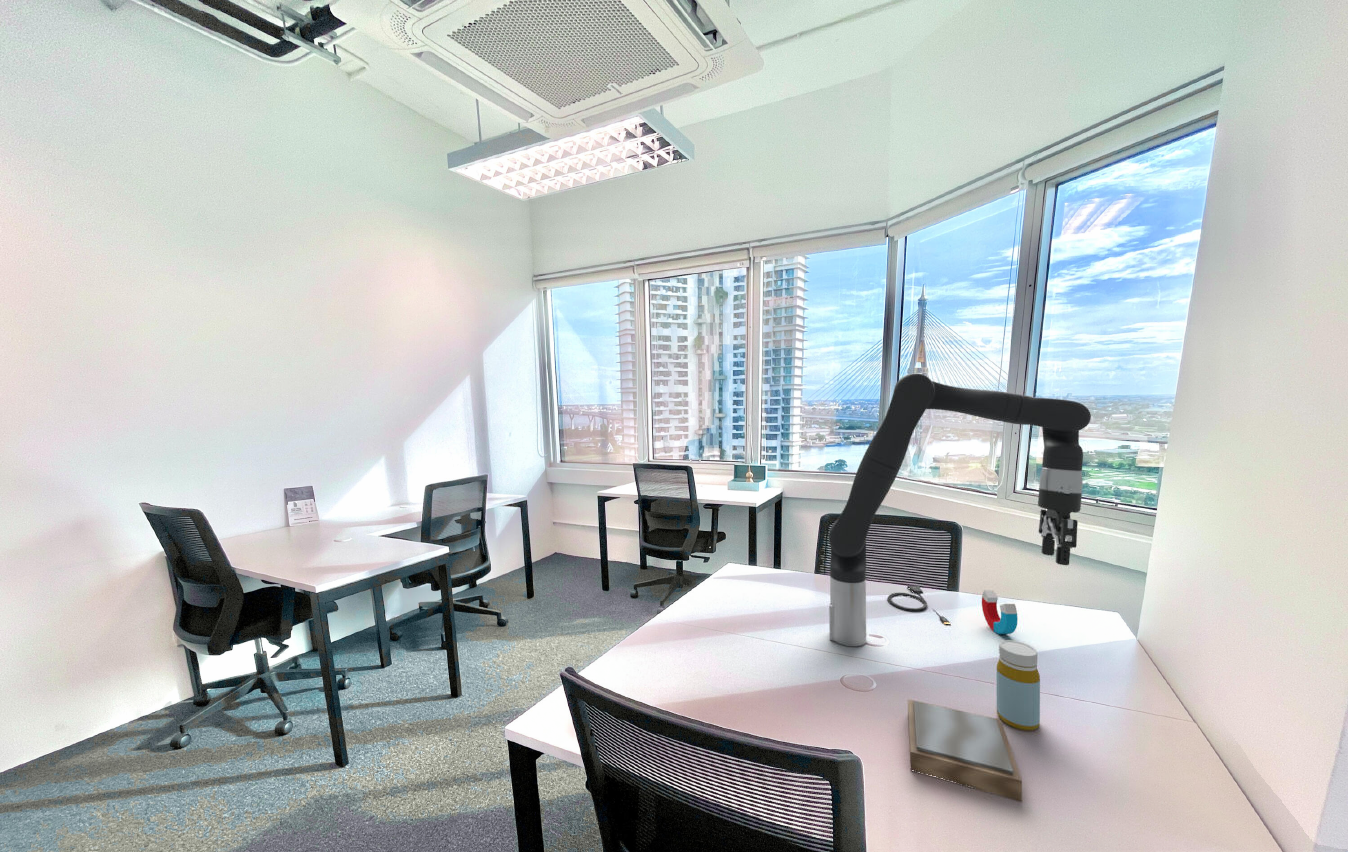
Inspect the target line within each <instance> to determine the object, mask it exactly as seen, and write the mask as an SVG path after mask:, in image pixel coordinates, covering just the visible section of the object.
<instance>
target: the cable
mask: <svg viewBox="0 0 1348 852" xmlns="http://www.w3.org/2000/svg"><path fill="white" fill-rule="evenodd" d="M908 588H910V589H908ZM907 589H908V590H910V591H911V592H912V591H913V592H914V593H913V592H912V593H913V594H912V593H911V592H910V591H909V592H910V593H907V592H894V593H890V594H889V595H888V596H887V602H889V604H890V605H893V606H894V607H895V608H896V609H897V608H898V609H900V610H904V611H906V612H907V611H908V612H923V611H925V610H927V608H928V602H927V601H926V599H925V598H924V597H923V596H922V595H921V594H924V591H923V590H922V589H921V586H920V585H907ZM914 594H915V595H914ZM898 595H903V596H902V597H907V596H910V597H909V598H912V597H913V598H912V599H915V598H916V599H915V600H917V599H919V600H920V601H919V600H918V601H919V602H920V603H921V604H922V605H923V604H924V605H923V606H921V607H907V606H906V607H905V606H902V605H900V604H898V603H896V602H894V601H893V600H892V599H893V598H895V597H899V596H898ZM917 595H918V596H917ZM894 596H895V597H894ZM933 612H934V613H935V612H936V613H935V614H936V615H937V616H938V618H939V621H940V622H941V623H942V624H943V625H944V626H952V625H951V623H950V621H949V620H948V618H947V617H945V616H943V615H940V614H939V613H938V612H937V611H936V610H935V609H933Z"/></svg>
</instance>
